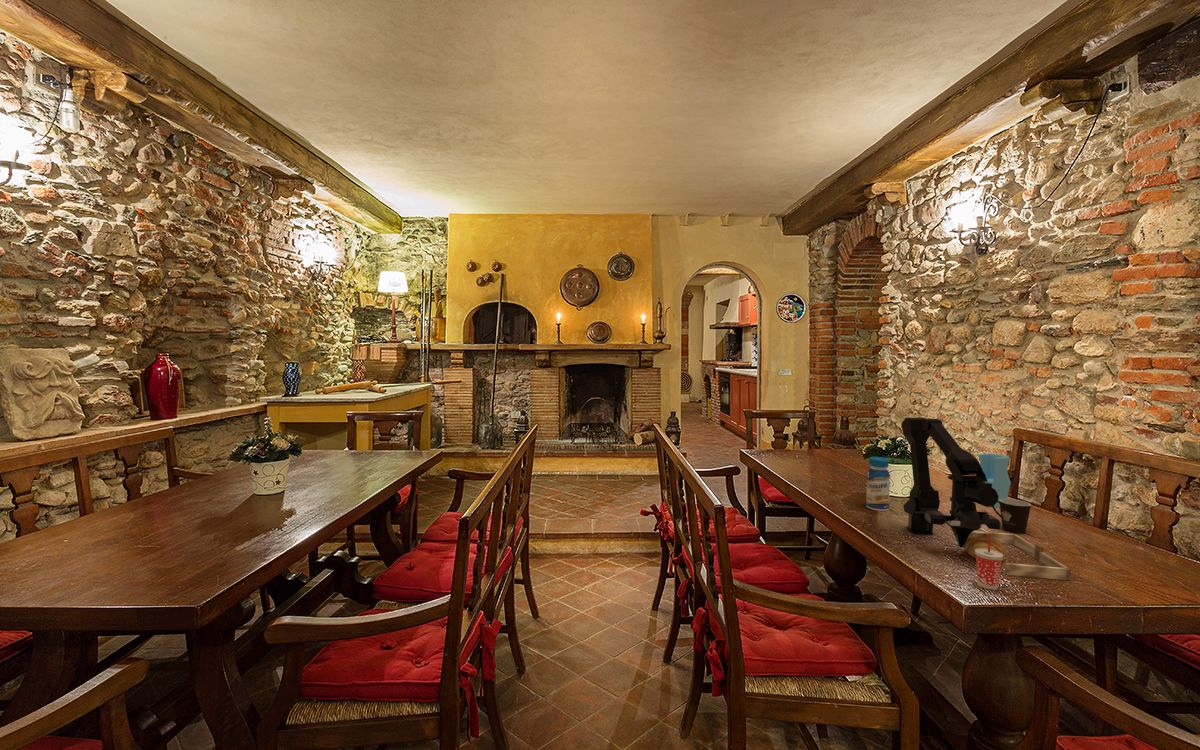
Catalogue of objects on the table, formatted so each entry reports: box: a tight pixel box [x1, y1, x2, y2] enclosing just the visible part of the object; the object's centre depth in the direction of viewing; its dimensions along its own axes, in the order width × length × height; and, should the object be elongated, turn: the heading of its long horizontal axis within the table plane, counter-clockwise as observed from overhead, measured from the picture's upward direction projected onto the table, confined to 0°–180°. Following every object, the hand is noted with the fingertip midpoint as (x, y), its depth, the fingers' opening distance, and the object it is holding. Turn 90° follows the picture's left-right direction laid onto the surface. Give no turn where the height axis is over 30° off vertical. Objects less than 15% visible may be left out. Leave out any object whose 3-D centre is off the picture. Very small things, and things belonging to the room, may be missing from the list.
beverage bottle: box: [865, 456, 891, 512], centre depth 206 cm, size 8×8×20 cm
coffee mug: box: [991, 498, 1032, 535], centre depth 183 cm, size 12×9×10 cm
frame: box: [968, 530, 1072, 581], centre depth 158 cm, size 15×28×4 cm, turn 166°
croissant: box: [963, 534, 1006, 563], centre depth 159 cm, size 21×10×8 cm, turn 151°
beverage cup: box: [975, 534, 1003, 591], centre depth 139 cm, size 6×6×14 cm
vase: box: [977, 453, 1012, 509], centre depth 212 cm, size 8×8×20 cm
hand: (960, 546), depth 161 cm, fingers closed
